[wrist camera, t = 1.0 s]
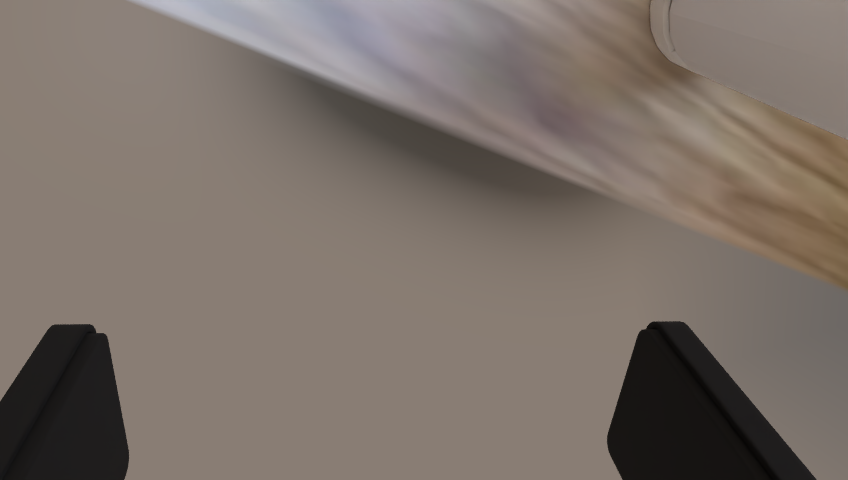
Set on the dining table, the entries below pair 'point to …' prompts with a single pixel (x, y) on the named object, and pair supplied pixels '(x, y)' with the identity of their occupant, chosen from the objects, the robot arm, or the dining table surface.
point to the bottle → (765, 51)
